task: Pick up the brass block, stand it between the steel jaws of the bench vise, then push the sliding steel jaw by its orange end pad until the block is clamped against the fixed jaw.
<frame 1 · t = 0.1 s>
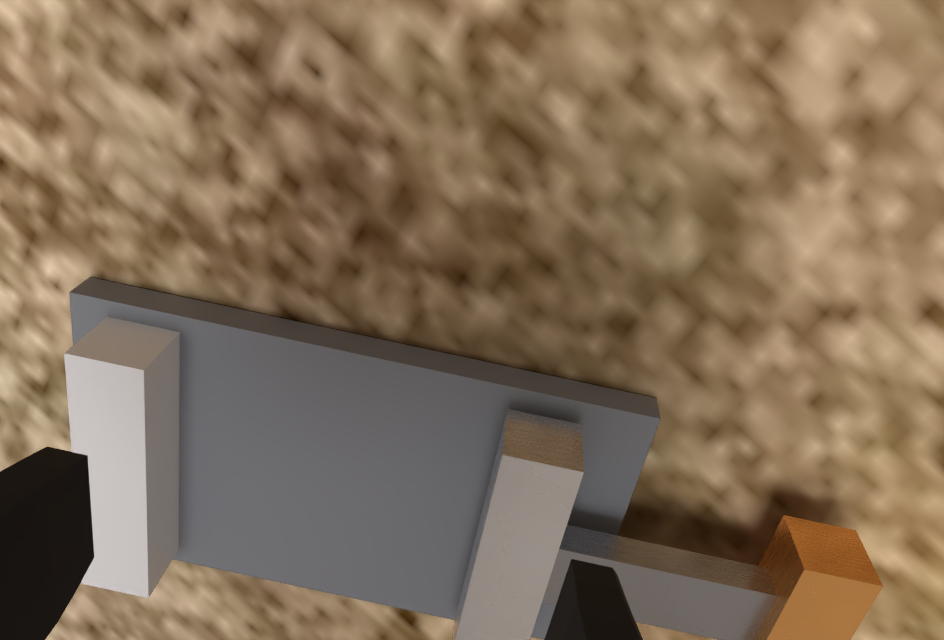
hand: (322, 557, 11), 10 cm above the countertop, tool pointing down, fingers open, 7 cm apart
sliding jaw: (652, 584, 21), point 2 cm above the countertop, slide at 0.0 cm
vise base: (354, 464, 23), on the countertop
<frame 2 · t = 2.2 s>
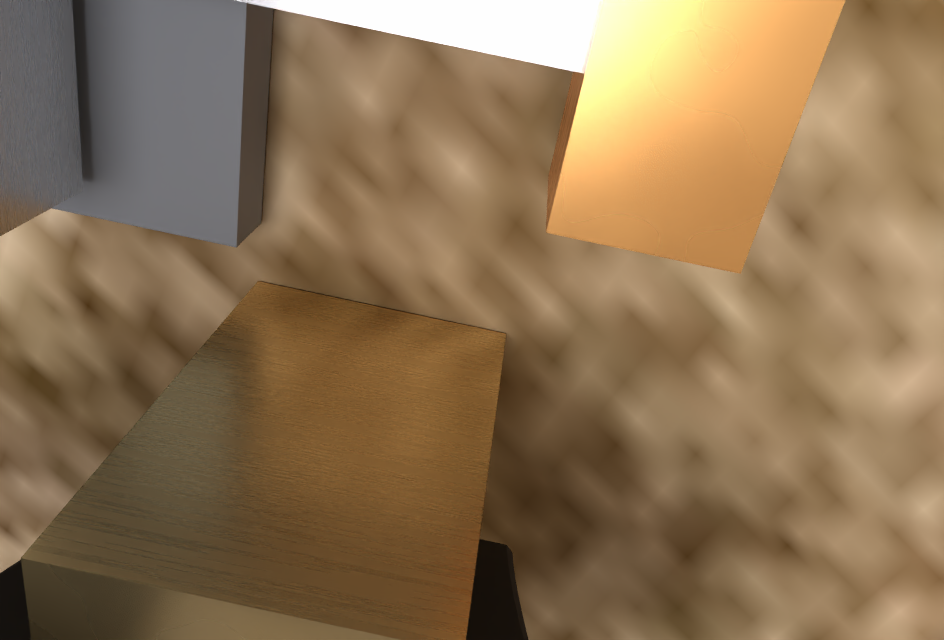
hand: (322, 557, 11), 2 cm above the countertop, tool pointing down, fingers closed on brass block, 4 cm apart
brass block: (360, 456, 13), on the countertop, touching gripper
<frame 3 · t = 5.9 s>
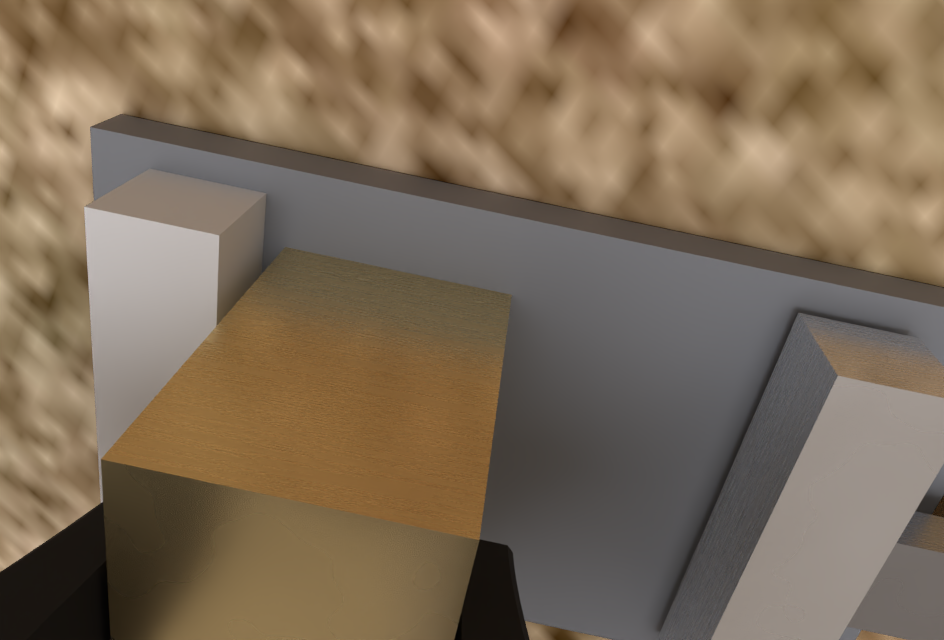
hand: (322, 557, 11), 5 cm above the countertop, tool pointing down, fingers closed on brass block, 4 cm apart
brass block: (376, 412, 15), point 1 cm above the countertop, touching gripper, vise base
vise base: (512, 415, 16), on the countertop
when the fingers open (4 cm above the countertop, at t = 6.5 s): brass block stays where it is, resting on vise base.
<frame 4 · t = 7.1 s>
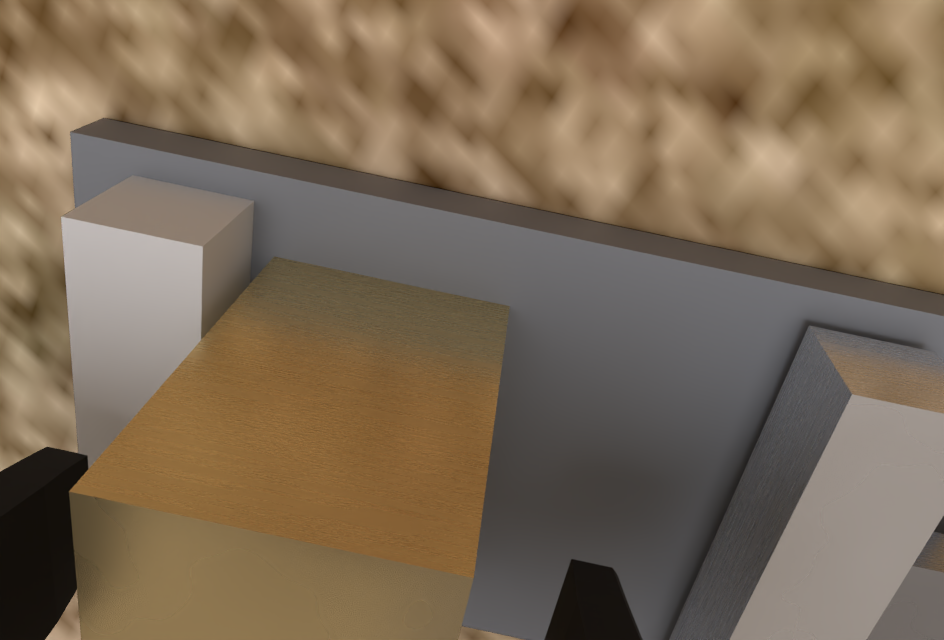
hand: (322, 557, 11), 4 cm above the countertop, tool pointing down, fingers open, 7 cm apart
brass block: (370, 426, 14), point 1 cm above the countertop, touching vise base
vise base: (511, 429, 15), on the countertop
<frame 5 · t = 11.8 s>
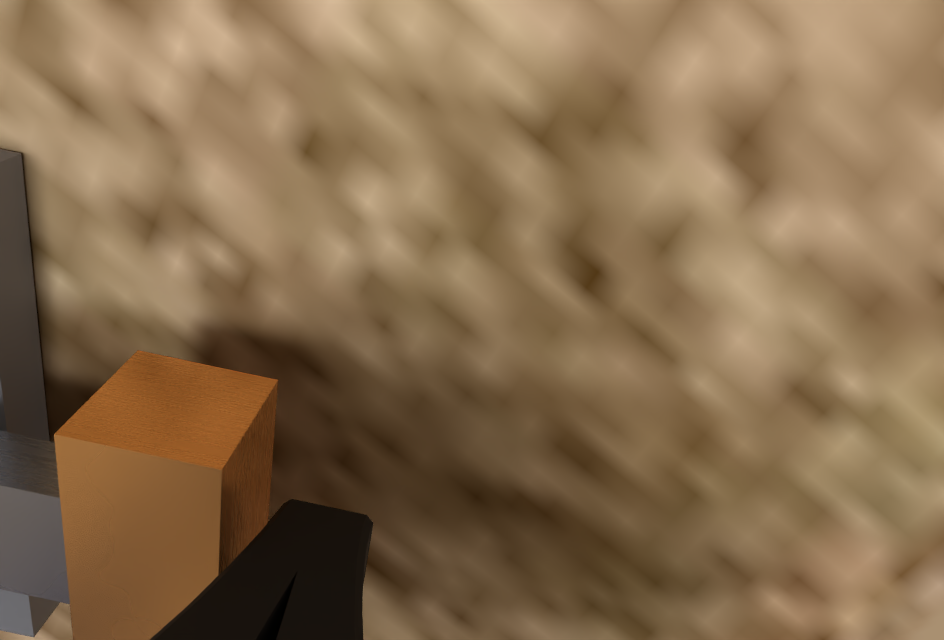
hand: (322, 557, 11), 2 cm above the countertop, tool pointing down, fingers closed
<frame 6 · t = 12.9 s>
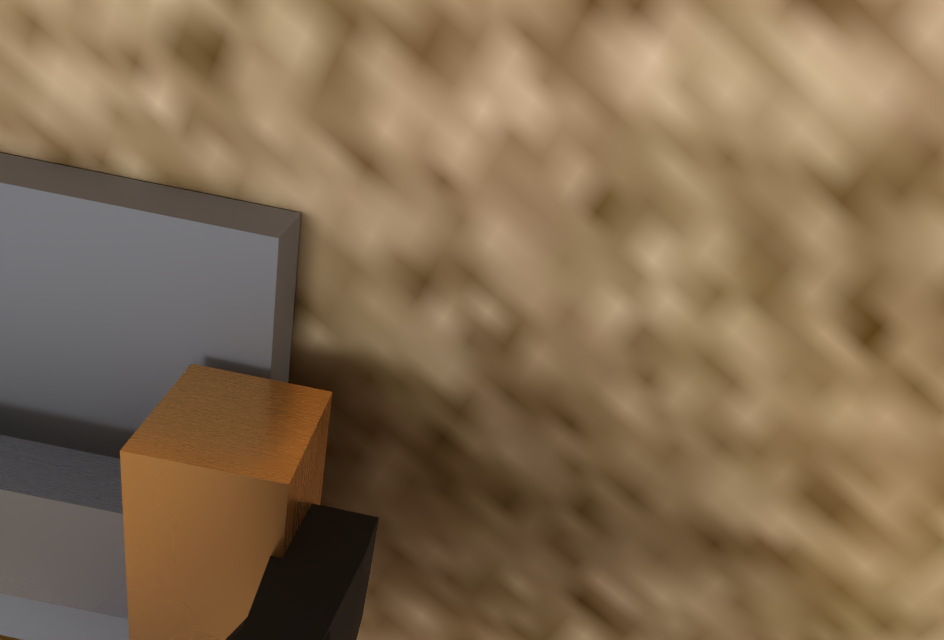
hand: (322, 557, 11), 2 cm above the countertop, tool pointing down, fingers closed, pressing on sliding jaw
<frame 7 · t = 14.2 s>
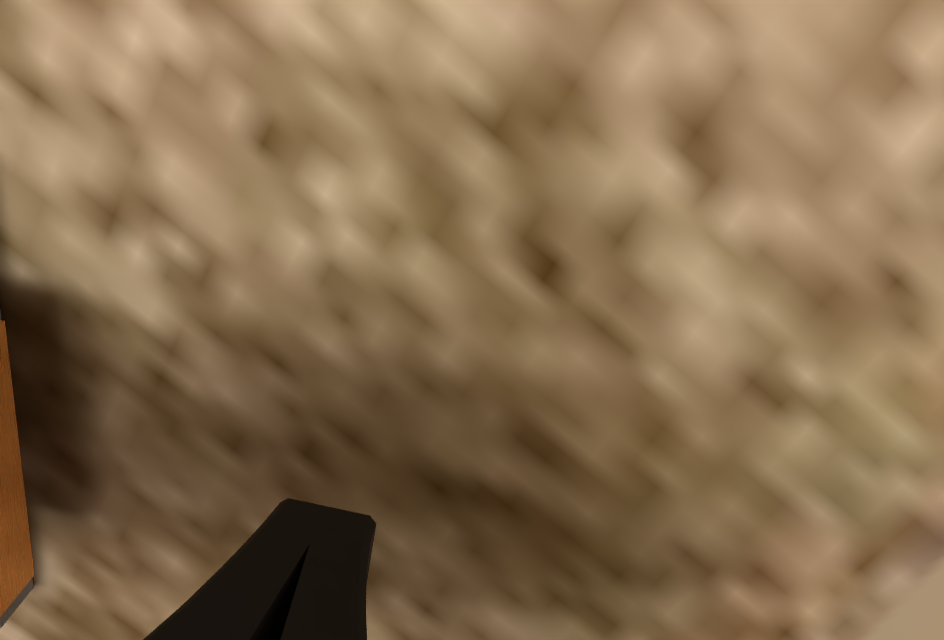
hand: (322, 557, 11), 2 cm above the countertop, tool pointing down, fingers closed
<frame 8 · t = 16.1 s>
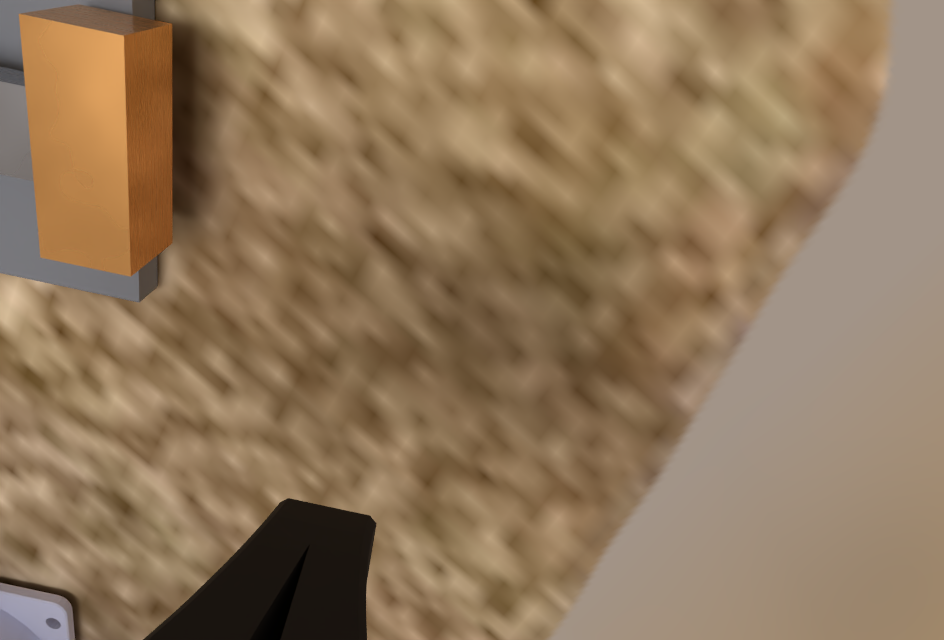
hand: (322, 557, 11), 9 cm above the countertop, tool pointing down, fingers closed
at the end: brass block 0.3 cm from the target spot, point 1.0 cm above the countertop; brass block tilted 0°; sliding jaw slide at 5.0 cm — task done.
